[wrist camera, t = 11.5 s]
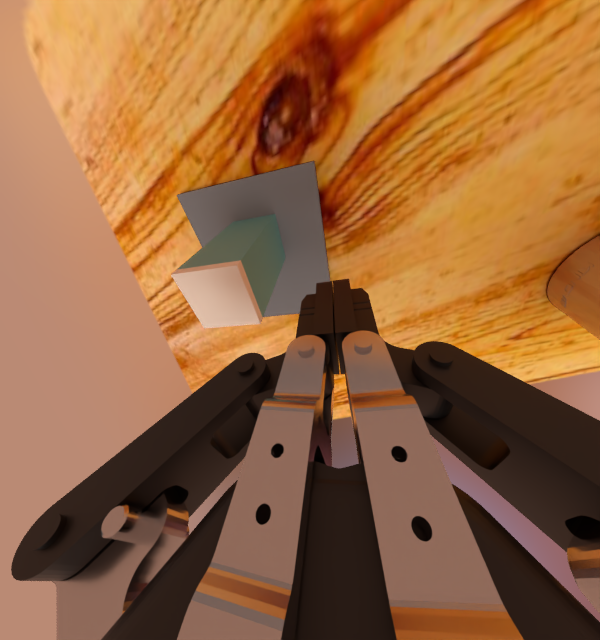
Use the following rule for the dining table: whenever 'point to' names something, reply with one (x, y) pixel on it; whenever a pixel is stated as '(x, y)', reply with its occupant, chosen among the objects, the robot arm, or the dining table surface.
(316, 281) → the mat
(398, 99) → the dining table surface
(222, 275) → the block
